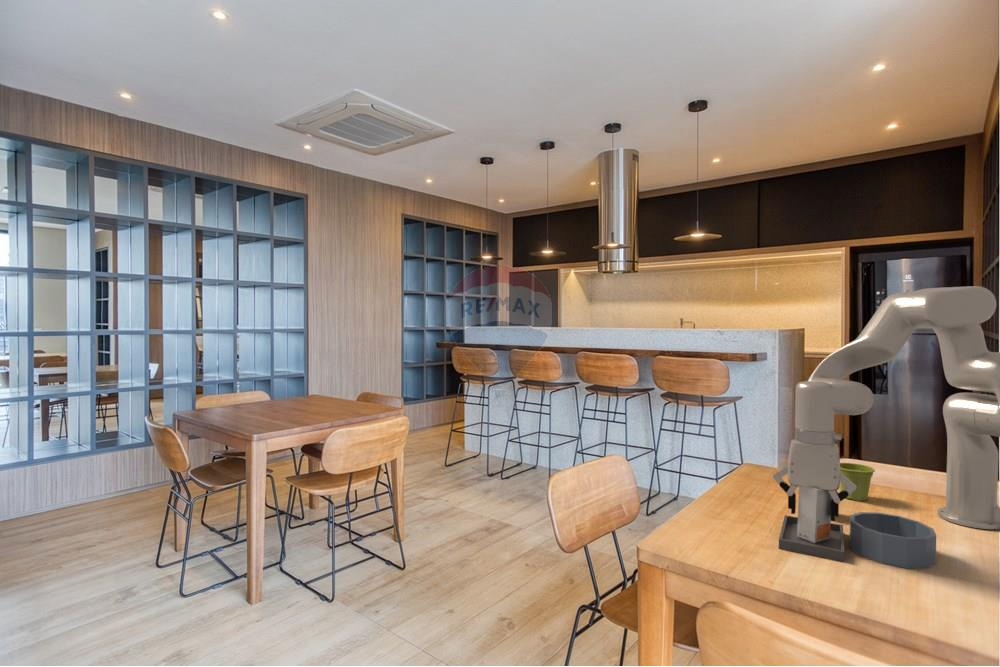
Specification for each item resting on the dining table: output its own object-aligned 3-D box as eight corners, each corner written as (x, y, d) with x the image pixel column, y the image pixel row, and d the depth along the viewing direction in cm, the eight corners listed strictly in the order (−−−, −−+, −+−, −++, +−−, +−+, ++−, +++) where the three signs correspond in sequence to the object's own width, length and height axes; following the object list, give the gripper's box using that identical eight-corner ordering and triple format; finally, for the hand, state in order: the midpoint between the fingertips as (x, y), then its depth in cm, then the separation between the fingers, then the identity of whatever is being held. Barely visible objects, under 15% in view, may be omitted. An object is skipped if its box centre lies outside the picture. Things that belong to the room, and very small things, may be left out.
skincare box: (815, 544, 117) (817, 489, 117) (796, 537, 121) (798, 484, 121) (831, 539, 120) (832, 485, 120) (812, 532, 124) (813, 480, 124)
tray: (842, 533, 125) (843, 525, 125) (844, 561, 110) (844, 552, 110) (784, 523, 131) (784, 515, 131) (778, 548, 117) (778, 539, 116)
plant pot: (827, 492, 155) (827, 462, 154) (860, 492, 154) (861, 462, 154) (846, 503, 145) (847, 471, 145) (882, 503, 145) (883, 471, 145)
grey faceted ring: (928, 547, 117) (929, 520, 117) (940, 574, 105) (940, 544, 104) (848, 533, 125) (849, 508, 125) (850, 557, 112) (851, 528, 112)
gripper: (860, 438, 119) (858, 517, 119) (772, 429, 128) (771, 503, 128) (861, 445, 112) (860, 529, 113) (769, 435, 121) (768, 513, 122)
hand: (812, 514), depth 120 cm, fingers open, 7 cm apart
